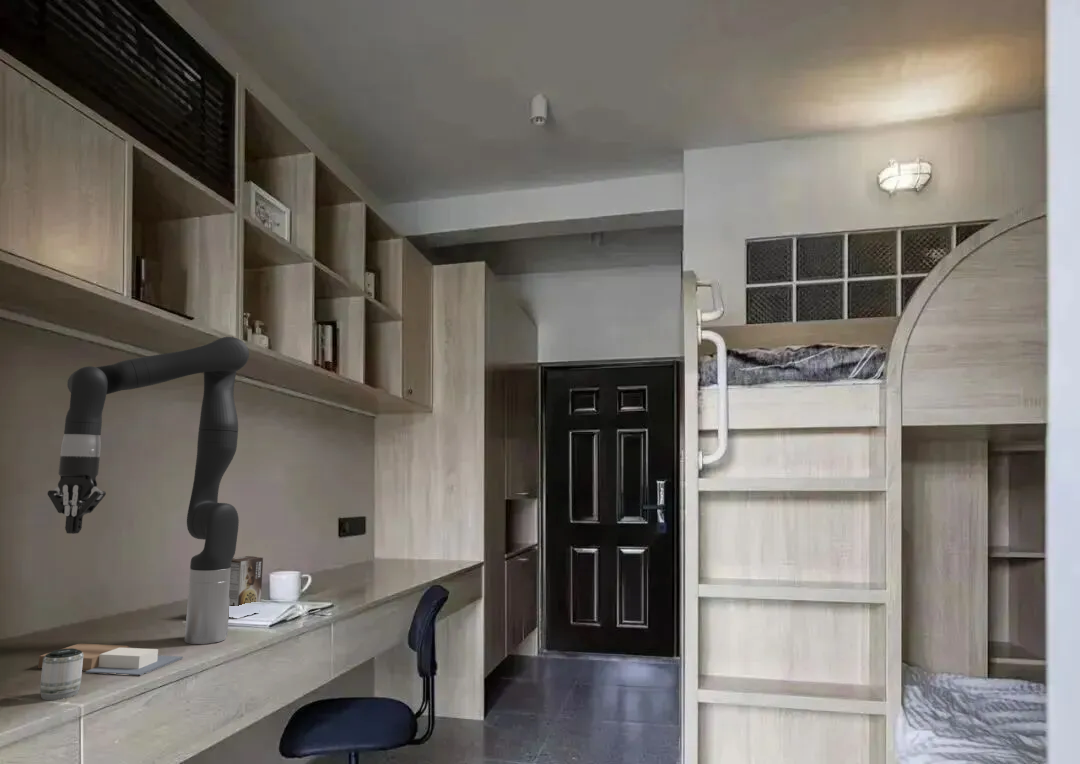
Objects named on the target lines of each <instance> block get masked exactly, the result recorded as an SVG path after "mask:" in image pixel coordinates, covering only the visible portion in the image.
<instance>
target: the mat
mask: <svg viewBox="0 0 1080 764" xmlns="http://www.w3.org/2000/svg"><path fill="white" fill-rule="evenodd" d="M182 658H184V657H183V656H178V655H159V654H158V658H157V662H154V663H152V664H149V665H147V666H144V667H142V668H139V669H131V668H111V667H96V668H93V669H90V670H88V671H84V673H85V674H90V673H116V674H129V675H142V674H144V673H146V674H148V673H147V672H149V673H151V672H153V671H152V670H154V671H156V670H158V669H157V668H159V669H161V668H163V667H165V665H166V666H168V665H170V663H171V664H173V663H175V662H177V660H178V661H179V660H183V659H182ZM167 664H168V665H167ZM162 666H163V667H162ZM160 667H161V668H160ZM155 669H156V670H155ZM150 671H151V672H150ZM144 675H145V674H144ZM142 676H143V675H142Z"/></svg>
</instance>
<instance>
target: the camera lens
mask: <svg viewBox="0 0 1080 764" xmlns="http://www.w3.org/2000/svg"><path fill="white" fill-rule="evenodd" d="M50 652H51V653H50ZM50 652H47V653H48V654H47V653H46V654H47V655H45V657H44V658H43V664H42V669H41V676H40V686H39V688H40V691H39V692H40V695H41V697H40V698H41V700H44V701H45V700H46V701H57V700H56V699H59V700H64V699H63V698H65V699H68V698H67V697H69V698H72V697H74V696H73V695H75V696H77V695H78V694H77V693H79V689H80V688H81V683H82V675H83V674H82V673H83V671H82V666H83V656H84V654H83V652H82V651H80V650H77V649H73V648H69V649H63V648H61V650H60V649H55V650H52V651H50ZM76 694H77V695H76ZM71 696H72V697H71Z"/></svg>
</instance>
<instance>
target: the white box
mask: <svg viewBox="0 0 1080 764" xmlns="http://www.w3.org/2000/svg"><path fill="white" fill-rule="evenodd" d="M158 655H159V648H158V649H157V648H139V647H138V648H137V647H129V648H117V649H114V650H111V651H108V652H105V653H102V654H100V655H99V666H98V667H111V668H131V669H139V668H142V667H144V666H147V665H149V664H152V663H154V662H157V658H158Z"/></svg>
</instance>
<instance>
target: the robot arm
mask: <svg viewBox="0 0 1080 764" xmlns="http://www.w3.org/2000/svg"><path fill="white" fill-rule="evenodd" d="M249 359H250V351H249V348H248V346H247V344H246V343H245V342H244V341H243V340H241V339H240V338H236V337H234V336H223V337H221V338H217V339H216V340H213V341H212V342H209V343H208V344H203V345H201V346H197V347H194V348H189V349H188V348H187V349H184V350H180V351H179V350H178V351H174V352H168V353H162V354H159V353H158V354H154V355H147V356H142V357H137V358H131V359H126V360H122V361H118V362H116V363H113V364H108V365H107V364H106V365H101V366H89V365H88V366H84V367H79V369H77V370H76V371H74V372H73V373H72V374H70V375H69V377H68V379H67V389H68V391H69V392H70V400H69V408H68V411H67V413H66V416H65V421H64V431H63V433H64V434H63V437H62V442H61V446H60V447H61V448H60V456H59V465H58V475H59V476H60V479H59V481H58V483H57V486H56V487H55V488H54V489H52V490H51V489H50V490H48V491H47V496H48V497H49V500H51V502H52V504H53V506H54V508H55V509H56V511H57V513H59V514H63V515H64V516H65V517H66V518H65V526H64V530H65V533H66V534H69V535H70V534H79V533H80V532H81V530H82V527H83V526H82V525H83V517H84V515H87V514H91V513H92V512H93V511H94V510H95V508H96V507H97V506H98V505H99V503H100V502H101V501H102V500H103V498H104V497H105V496H106V494H107V493H106V491H105V490H101V489H100V488H98V482H97V477H98V475H99V469H100V461H101V460H100V457H101V450H102V448H101V447H102V443H101V441H102V440H101V434H102V422H103V412H104V408H105V404H106V403H105V402H106V399H107V395H110V394H114V393H117V392H121V391H127V390H134V389H135V390H136V389H141V388H144V387H149V386H154V385H158V384H161V383H166V382H170V381H174V380H176V379H180V378H184V377H188V376H191V375H196V374H202V373H203V396H202V402H201V408H200V409H201V410H200V417H199V418H200V419H199V426H198V433H197V444H196V445H197V449H196V461H195V469H194V478H193V484H192V488H191V489H192V490H191V495H190V500H189V504H188V510H187V513H186V514H187V515H186V528H187V531H188V533H189V535H190V536H191V537H192V538H195V539H196V540H197V539H198V540H204V546H203V549H202V551H201V552H200V553H198V554H196V555H194V556H192V557H191V560H190V566H189V578H188V581H189V582H188V592H187V593H188V595H187V605H186V618H185V630H184V642H185V643H186V644H190V645H191V644H192V645H206V644H207V645H208V644H213V643H219V642H222V641H224V640H226V639H227V637H228V632H229V631H228V630H229V629H228V628H229V619H230V618H229V604H230V598H229V587H230V571H231V562H232V559H233V558H235V555H236V550H237V543H238V532H239V522H240V520H239V513H238V511H237V508H236V507H235V506H234V505H232V504H230V503H226V502H218V500H219V499H218V498H219V490H220V489H219V488H220V486H221V485H220V484H221V481H222V479H223V477H224V474H225V472H226V471H227V469H228V468H229V466H230V464H231V463H232V461H233V459H234V457H235V456H236V455H235V454H236V452H237V447H238V438H239V437H238V436H239V420H238V413H237V407H236V405H235V397H234V393H235V392H234V390H235V382H236V376H237V372H238V371H239V370H241V369H242V368H244V367H245V366H246V364H247V363H248V360H249Z"/></svg>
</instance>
